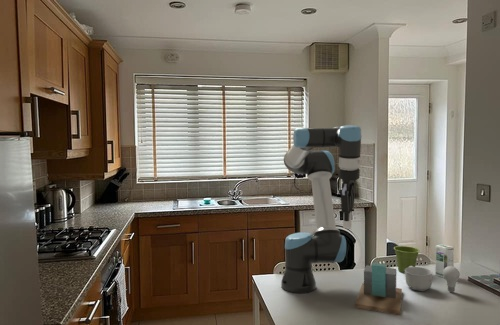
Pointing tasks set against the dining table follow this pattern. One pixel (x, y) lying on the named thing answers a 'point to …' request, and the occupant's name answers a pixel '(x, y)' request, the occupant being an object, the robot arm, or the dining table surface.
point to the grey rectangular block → (389, 281)
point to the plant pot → (406, 257)
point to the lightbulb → (451, 277)
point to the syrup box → (443, 258)
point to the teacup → (418, 278)
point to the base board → (379, 302)
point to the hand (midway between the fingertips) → (347, 227)
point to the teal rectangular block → (379, 279)
